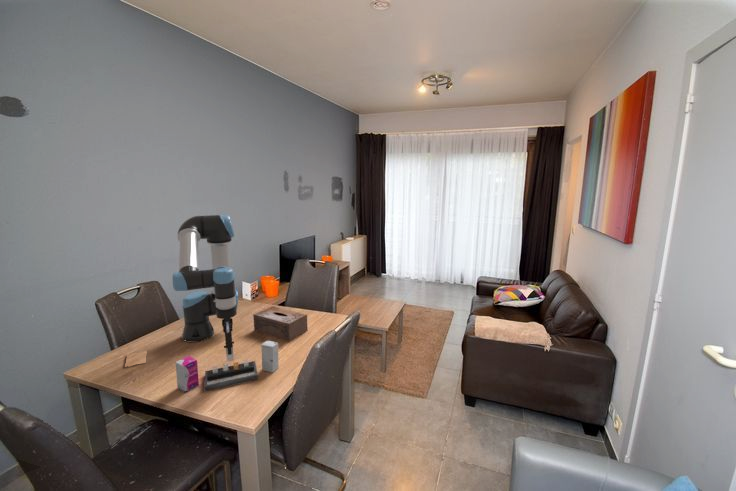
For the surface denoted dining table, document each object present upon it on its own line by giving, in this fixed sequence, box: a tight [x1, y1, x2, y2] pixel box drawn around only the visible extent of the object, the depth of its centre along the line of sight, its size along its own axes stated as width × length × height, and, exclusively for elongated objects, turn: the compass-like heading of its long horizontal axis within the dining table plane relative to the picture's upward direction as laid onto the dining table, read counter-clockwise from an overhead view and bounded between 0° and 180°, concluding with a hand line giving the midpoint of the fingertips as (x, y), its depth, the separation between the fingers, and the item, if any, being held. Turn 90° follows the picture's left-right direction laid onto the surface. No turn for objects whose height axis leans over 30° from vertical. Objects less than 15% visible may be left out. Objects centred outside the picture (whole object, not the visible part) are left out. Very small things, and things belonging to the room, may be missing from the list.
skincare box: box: [261, 340, 280, 373], centre depth 142 cm, size 6×4×12 cm
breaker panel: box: [203, 359, 259, 392], centre depth 136 cm, size 20×12×6 cm, turn 114°
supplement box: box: [175, 355, 200, 393], centre depth 129 cm, size 6×6×12 cm
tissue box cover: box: [252, 305, 309, 342], centre depth 180 cm, size 26×14×10 cm, turn 62°
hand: (230, 360), depth 135 cm, fingers closed
